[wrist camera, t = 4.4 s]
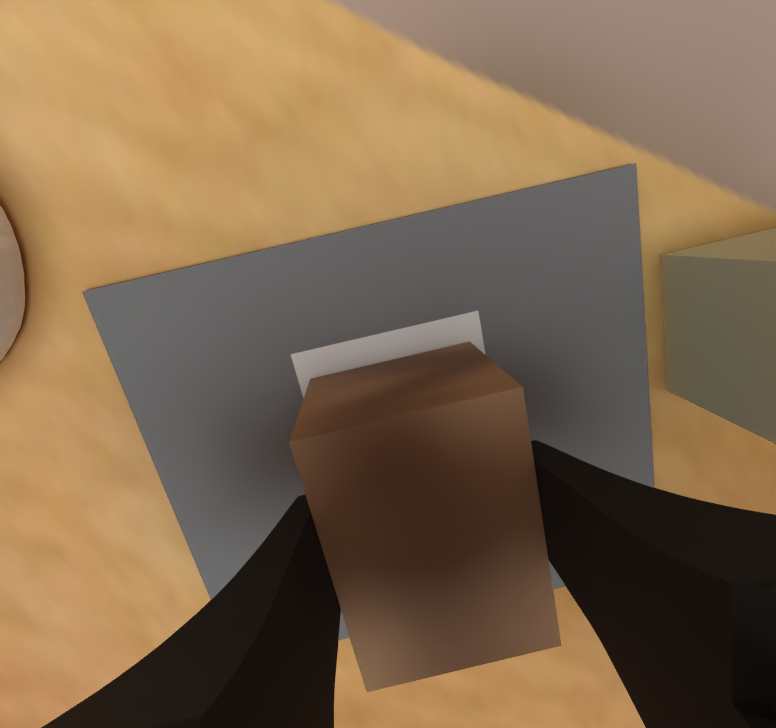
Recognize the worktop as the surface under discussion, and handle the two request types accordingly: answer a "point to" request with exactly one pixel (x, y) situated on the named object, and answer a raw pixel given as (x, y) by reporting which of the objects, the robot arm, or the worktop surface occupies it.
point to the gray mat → (383, 343)
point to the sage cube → (724, 328)
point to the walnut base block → (428, 513)
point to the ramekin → (10, 286)
